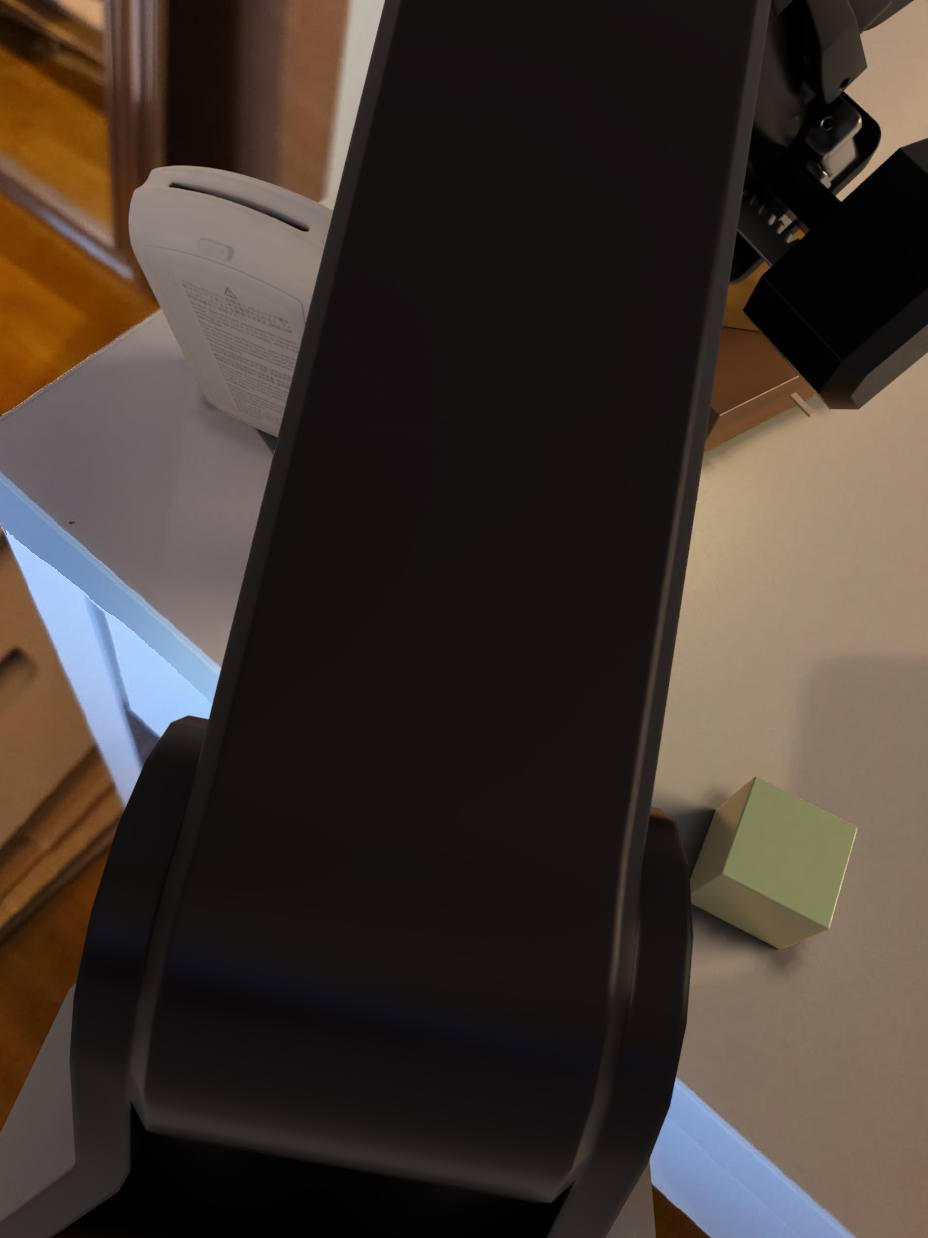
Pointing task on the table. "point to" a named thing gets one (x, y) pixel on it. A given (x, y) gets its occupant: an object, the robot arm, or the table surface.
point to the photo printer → (231, 280)
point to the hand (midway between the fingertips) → (775, 225)
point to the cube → (772, 864)
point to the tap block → (750, 386)
